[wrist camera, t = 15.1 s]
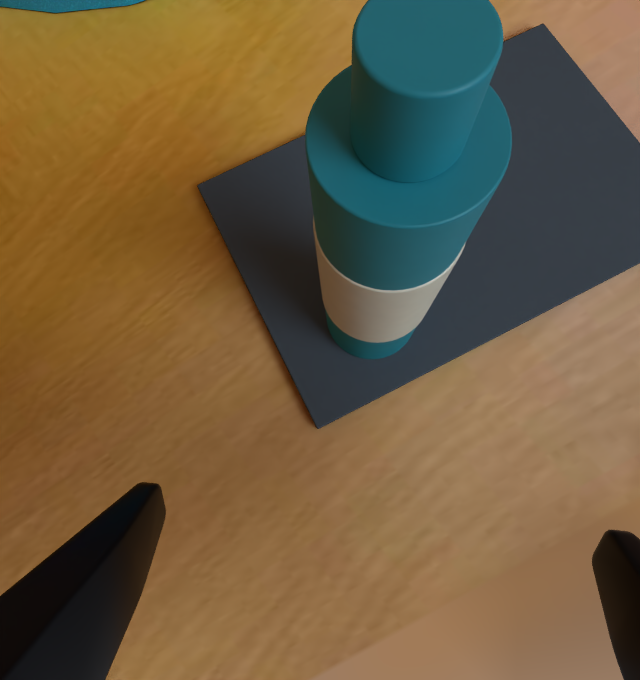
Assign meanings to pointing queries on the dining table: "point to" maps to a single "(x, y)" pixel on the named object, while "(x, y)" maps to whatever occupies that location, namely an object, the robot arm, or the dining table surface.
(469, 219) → the teal capped bottle
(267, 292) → the mat
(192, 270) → the dining table surface
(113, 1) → the teal oval tray
